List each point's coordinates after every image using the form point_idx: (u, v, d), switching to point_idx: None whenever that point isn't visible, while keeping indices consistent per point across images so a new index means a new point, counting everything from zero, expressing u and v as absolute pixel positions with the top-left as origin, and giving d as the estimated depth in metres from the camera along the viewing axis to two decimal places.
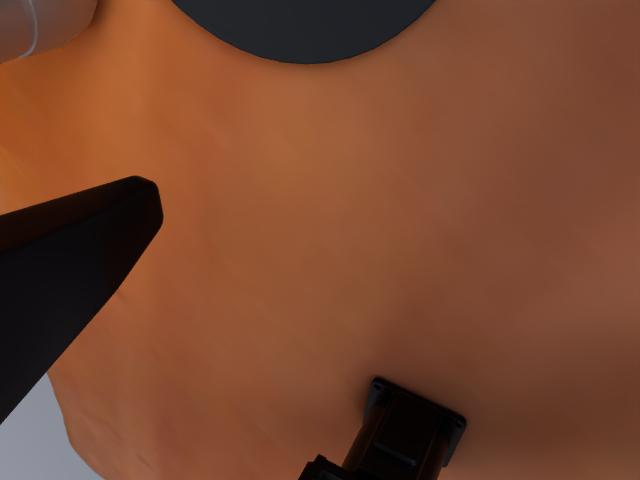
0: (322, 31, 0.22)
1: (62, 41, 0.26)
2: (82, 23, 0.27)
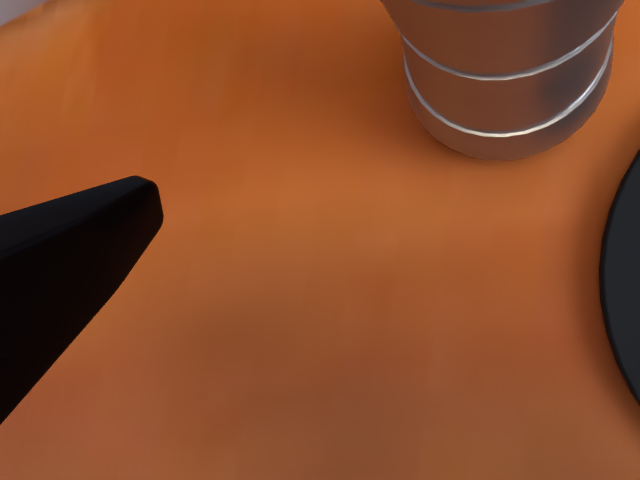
0: None
1: (472, 151, 0.19)
2: None
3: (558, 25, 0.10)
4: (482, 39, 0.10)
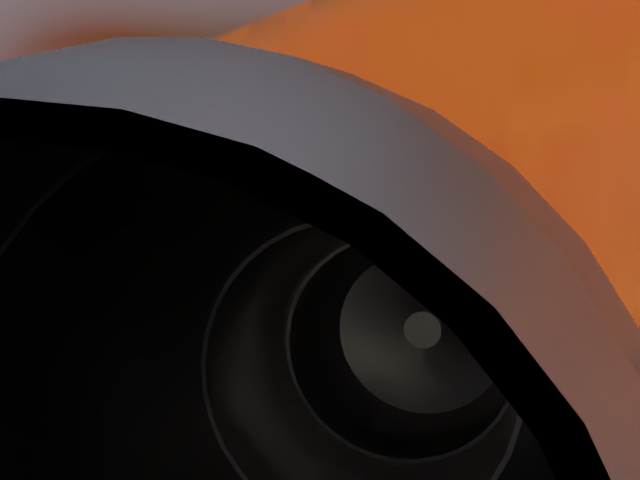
0: None
1: None
2: (403, 444, 0.16)
3: None
4: None
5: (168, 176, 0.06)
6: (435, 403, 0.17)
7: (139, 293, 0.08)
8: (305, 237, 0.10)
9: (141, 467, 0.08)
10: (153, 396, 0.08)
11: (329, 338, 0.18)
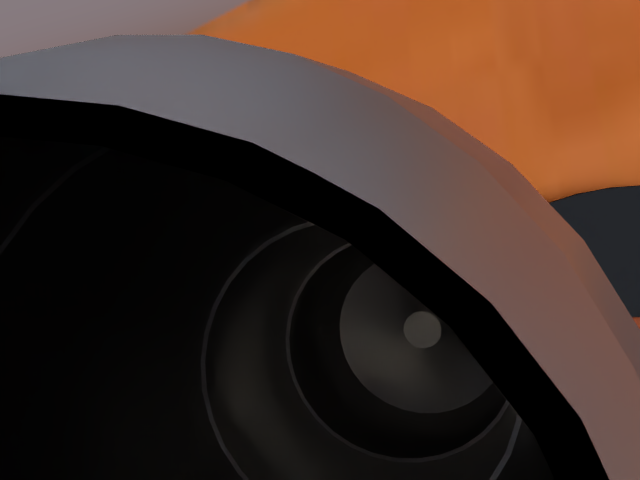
0: None
1: None
2: (403, 443, 0.16)
3: None
4: None
5: (168, 174, 0.06)
6: (435, 403, 0.17)
7: (139, 291, 0.08)
8: (305, 236, 0.10)
9: (141, 466, 0.08)
10: (153, 395, 0.08)
11: (330, 338, 0.18)
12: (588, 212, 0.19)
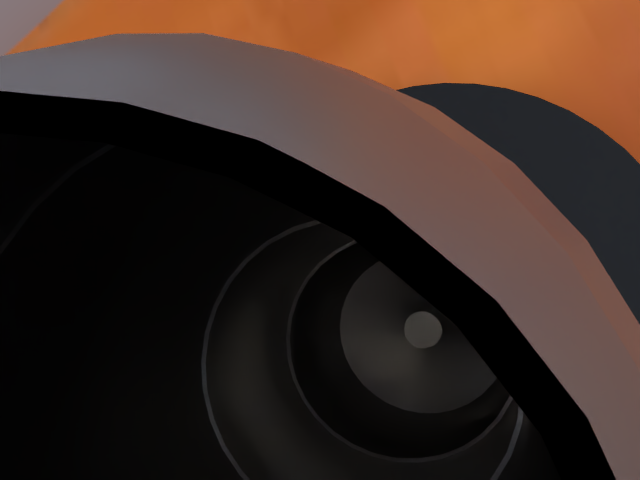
0: None
1: None
2: (403, 444, 0.16)
3: None
4: None
5: (168, 174, 0.06)
6: (435, 403, 0.17)
7: (140, 292, 0.08)
8: (305, 236, 0.10)
9: (142, 466, 0.08)
10: (153, 395, 0.08)
11: (330, 337, 0.18)
12: None
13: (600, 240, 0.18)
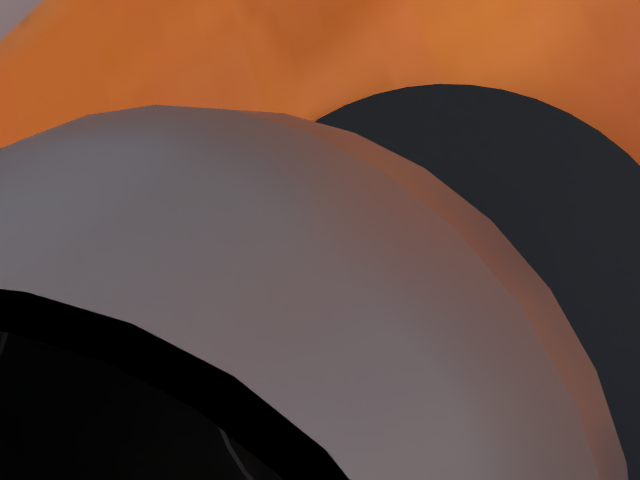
0: None
1: None
2: None
3: None
4: None
5: None
6: None
7: None
8: None
9: (154, 464, 0.08)
10: (165, 399, 0.09)
11: None
12: None
13: (602, 249, 0.17)
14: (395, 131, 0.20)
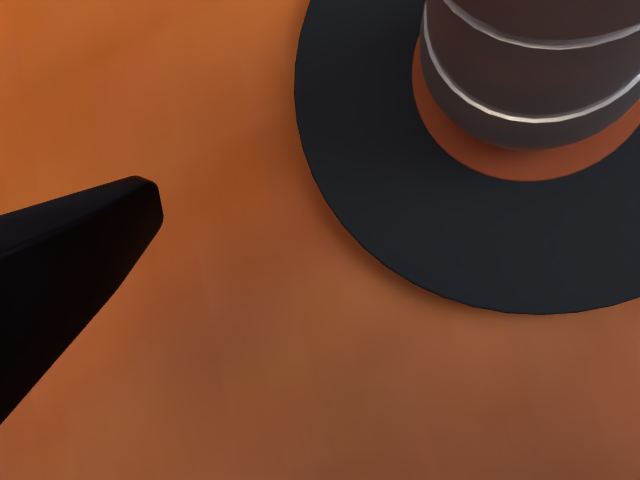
0: (460, 264, 0.19)
1: (491, 137, 0.16)
2: (516, 149, 0.17)
3: None
4: None
5: None
6: None
7: None
8: None
9: None
10: None
11: None
12: None
13: None
14: None
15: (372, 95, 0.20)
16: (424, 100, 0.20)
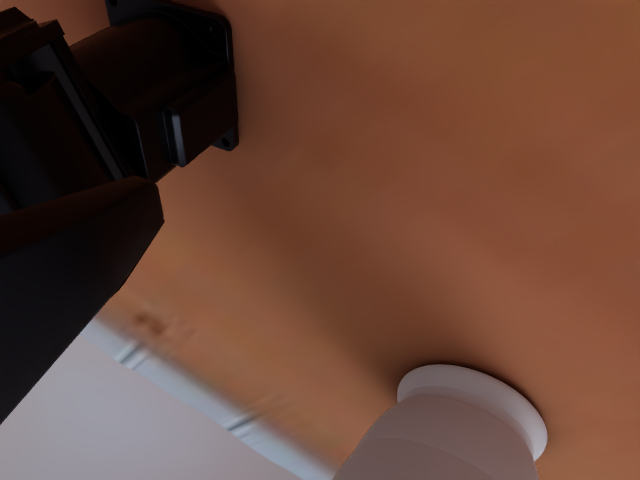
0: None
1: None
2: None
3: None
4: None
5: None
6: None
7: None
8: None
9: None
10: None
11: None
12: None
13: None
14: None
15: None
16: None
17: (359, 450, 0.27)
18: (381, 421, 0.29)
